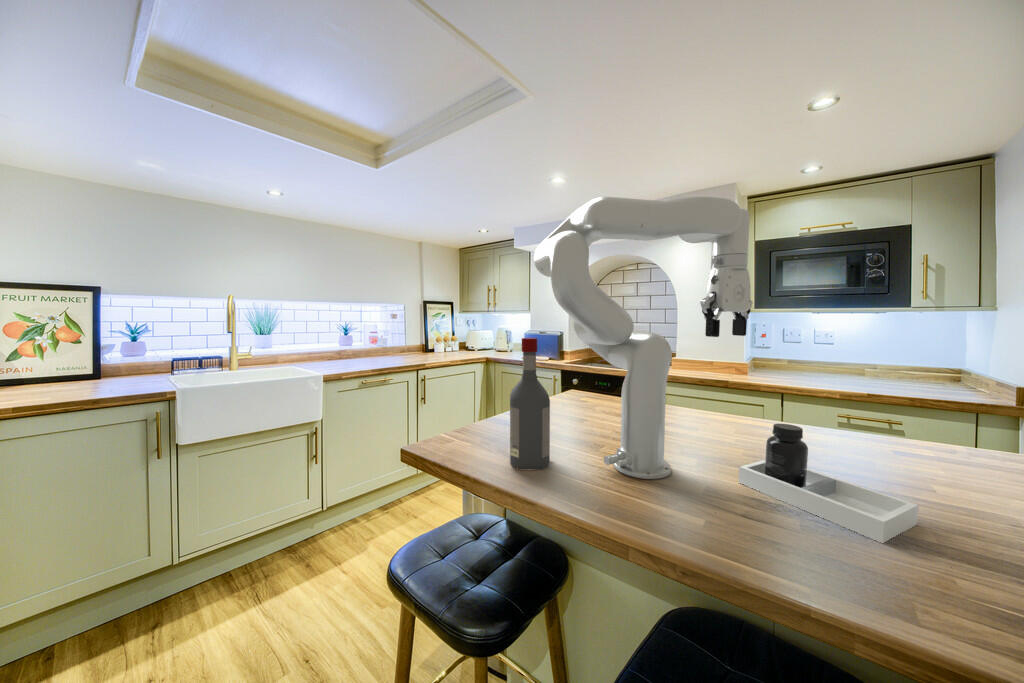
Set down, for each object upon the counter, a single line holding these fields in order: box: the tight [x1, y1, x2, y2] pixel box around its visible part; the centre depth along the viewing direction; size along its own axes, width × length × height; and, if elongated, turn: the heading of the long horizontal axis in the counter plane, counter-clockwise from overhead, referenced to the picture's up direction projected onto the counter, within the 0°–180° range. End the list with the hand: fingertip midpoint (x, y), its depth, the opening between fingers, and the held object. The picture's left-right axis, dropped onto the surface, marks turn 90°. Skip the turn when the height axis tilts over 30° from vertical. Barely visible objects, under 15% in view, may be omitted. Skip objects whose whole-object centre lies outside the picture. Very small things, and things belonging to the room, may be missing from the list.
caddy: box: [738, 459, 919, 544], centre depth 71 cm, size 12×23×4 cm, turn 25°
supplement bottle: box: [764, 423, 809, 488], centre depth 75 cm, size 7×7×12 cm
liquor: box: [509, 337, 551, 470], centre depth 88 cm, size 9×9×30 cm
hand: (725, 336), depth 90 cm, fingers open, 9 cm apart
